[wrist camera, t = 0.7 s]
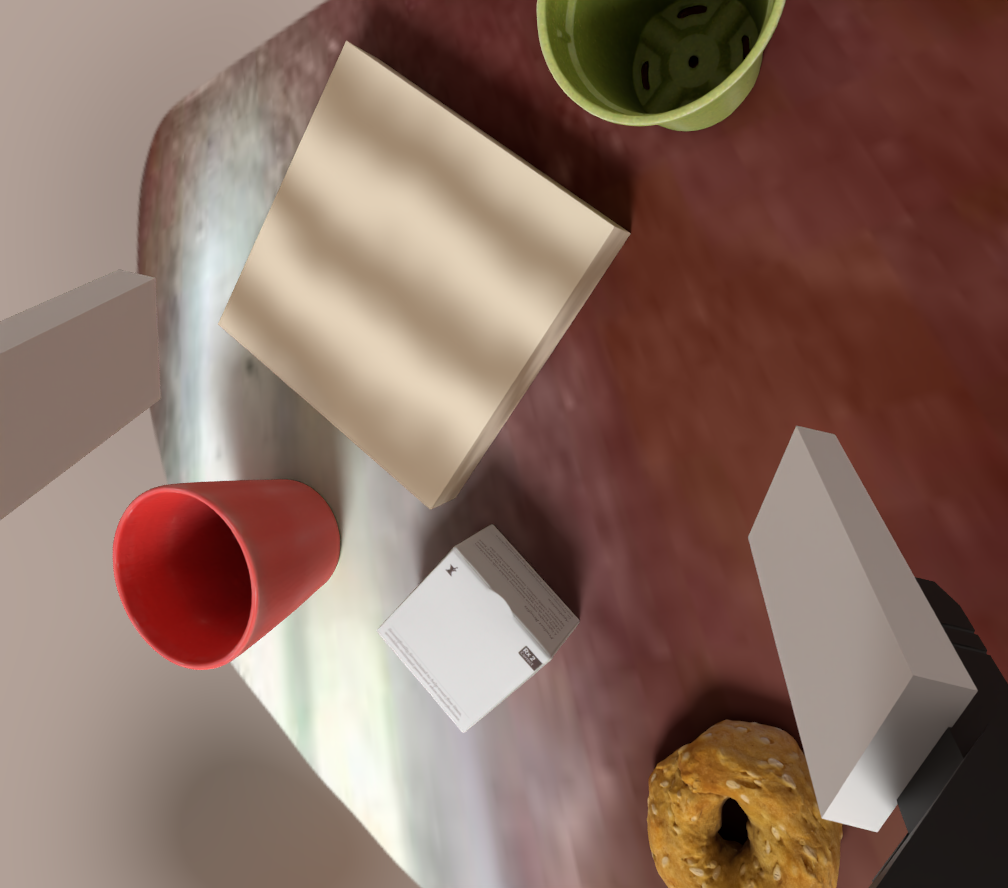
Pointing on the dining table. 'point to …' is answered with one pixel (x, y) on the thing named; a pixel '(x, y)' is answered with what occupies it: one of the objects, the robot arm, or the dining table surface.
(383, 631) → the small box
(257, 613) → the flower pot
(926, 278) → the dining table surface
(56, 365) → the robot arm
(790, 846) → the bagel
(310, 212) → the plinth
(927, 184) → the dining table surface
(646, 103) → the plant pot
